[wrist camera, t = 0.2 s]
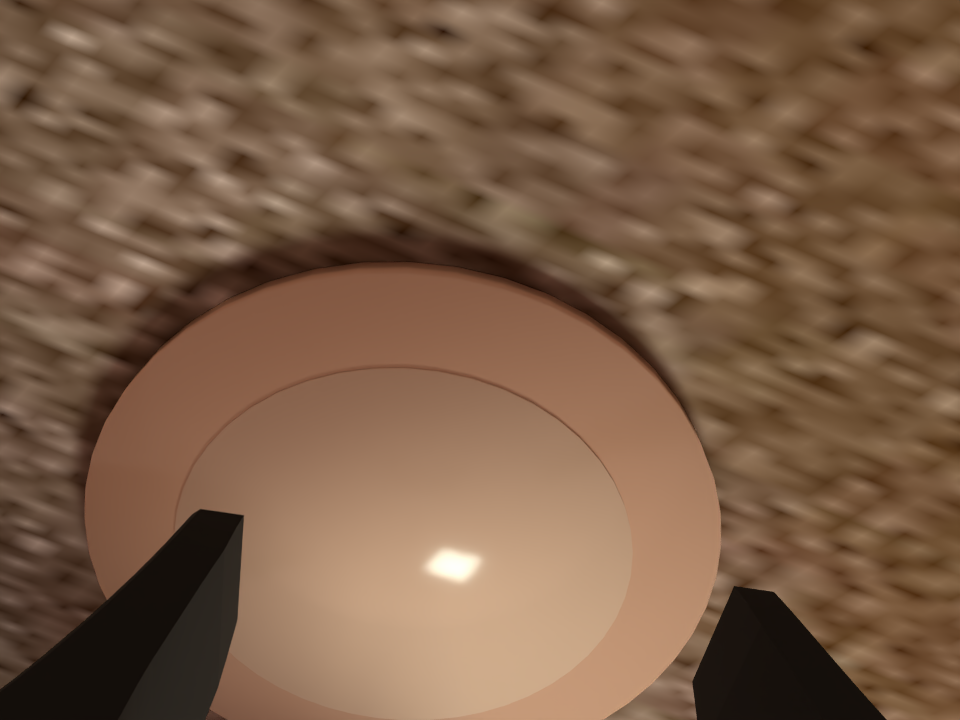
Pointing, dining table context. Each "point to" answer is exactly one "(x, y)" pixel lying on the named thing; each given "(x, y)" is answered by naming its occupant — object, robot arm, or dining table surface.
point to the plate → (418, 497)
